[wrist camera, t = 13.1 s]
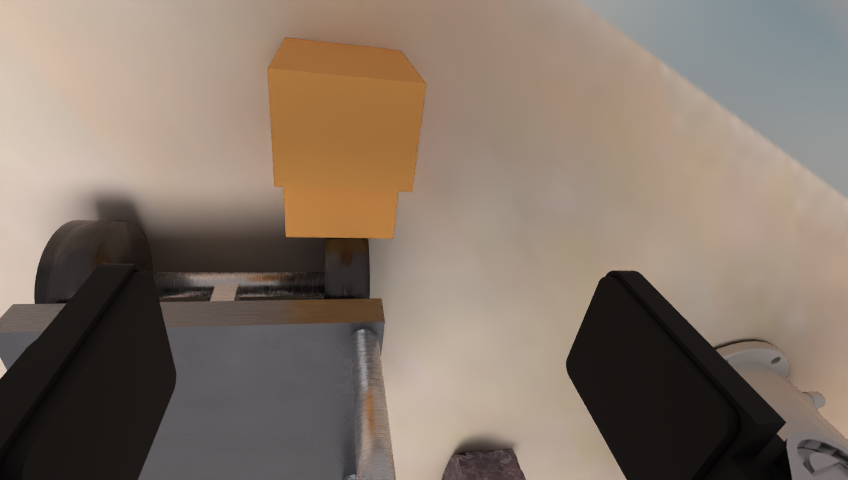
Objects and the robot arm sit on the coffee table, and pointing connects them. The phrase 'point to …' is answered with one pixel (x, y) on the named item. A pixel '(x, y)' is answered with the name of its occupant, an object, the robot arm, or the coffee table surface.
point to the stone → (484, 466)
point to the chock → (343, 136)
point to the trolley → (244, 360)
